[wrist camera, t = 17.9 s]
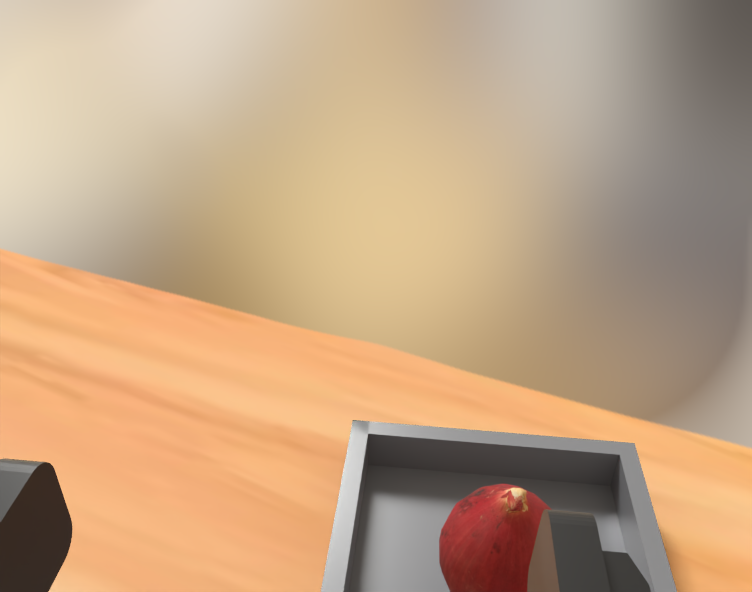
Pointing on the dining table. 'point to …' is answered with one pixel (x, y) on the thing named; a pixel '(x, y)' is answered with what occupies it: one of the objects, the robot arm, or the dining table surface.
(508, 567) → the onion
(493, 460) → the tray
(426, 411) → the dining table surface
